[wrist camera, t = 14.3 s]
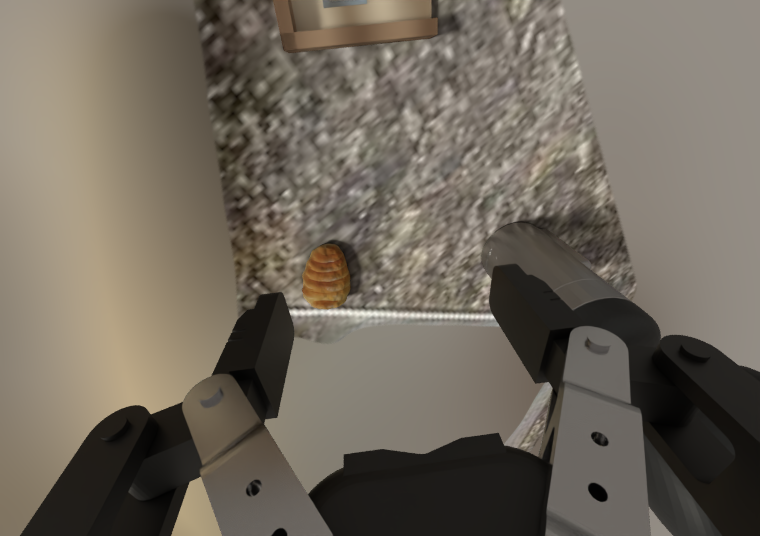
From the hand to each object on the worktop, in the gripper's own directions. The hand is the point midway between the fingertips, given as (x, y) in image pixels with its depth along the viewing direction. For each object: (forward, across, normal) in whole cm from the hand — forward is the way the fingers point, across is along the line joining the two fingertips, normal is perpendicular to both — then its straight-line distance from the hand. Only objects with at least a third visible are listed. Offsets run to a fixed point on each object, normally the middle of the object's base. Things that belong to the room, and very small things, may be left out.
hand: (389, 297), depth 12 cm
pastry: (+29, +7, +16) cm, 34 cm away
